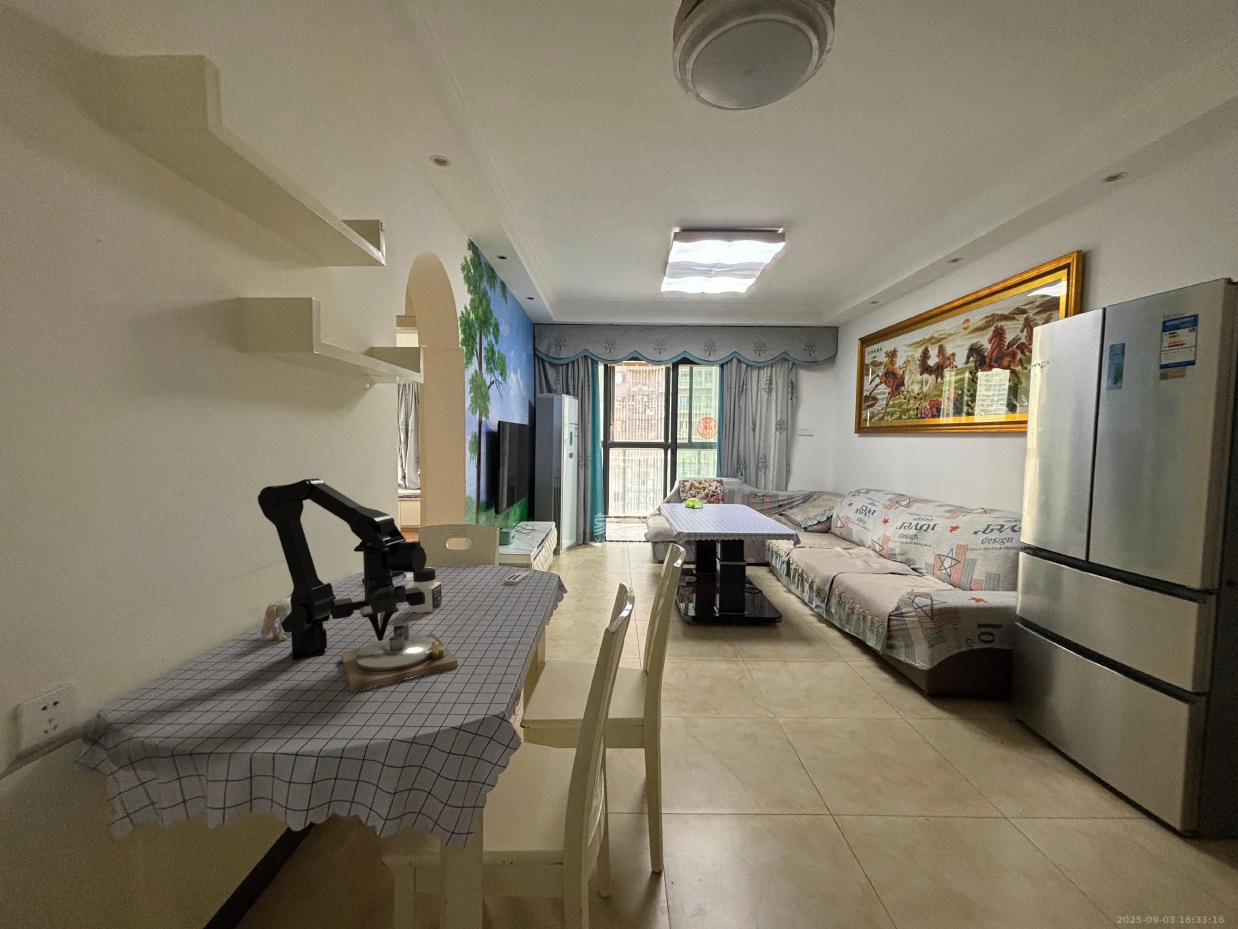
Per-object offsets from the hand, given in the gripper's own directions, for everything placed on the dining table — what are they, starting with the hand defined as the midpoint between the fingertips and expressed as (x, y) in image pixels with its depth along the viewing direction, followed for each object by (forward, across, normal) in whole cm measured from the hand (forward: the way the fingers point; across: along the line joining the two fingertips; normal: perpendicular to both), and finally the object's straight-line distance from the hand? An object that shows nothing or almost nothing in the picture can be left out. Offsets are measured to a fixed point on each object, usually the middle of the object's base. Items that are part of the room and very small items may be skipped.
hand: (380, 640), depth 118 cm
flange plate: (+2, +3, -7) cm, 8 cm away
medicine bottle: (+4, +17, +30) cm, 35 cm away
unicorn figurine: (+4, -18, +33) cm, 38 cm away
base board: (+4, +2, -6) cm, 8 cm away
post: (0, +2, -6) cm, 7 cm away
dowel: (+2, +9, -13) cm, 16 cm away
